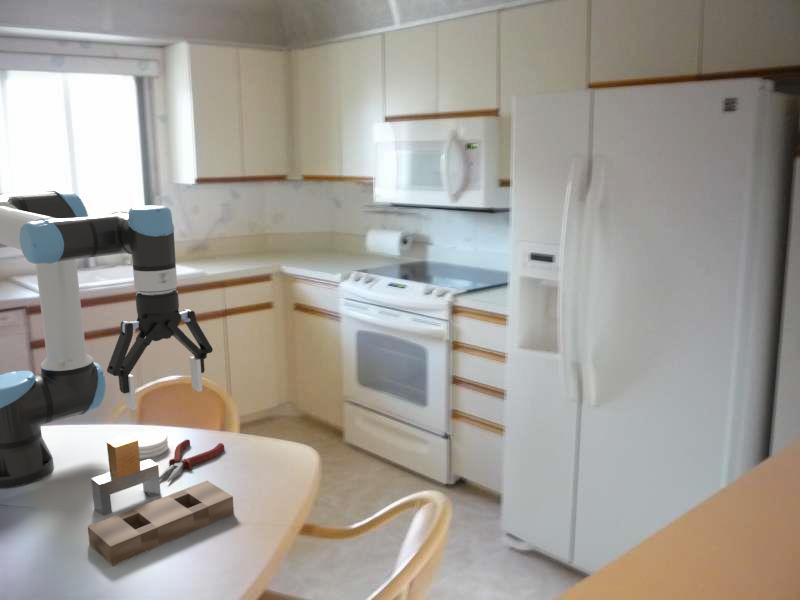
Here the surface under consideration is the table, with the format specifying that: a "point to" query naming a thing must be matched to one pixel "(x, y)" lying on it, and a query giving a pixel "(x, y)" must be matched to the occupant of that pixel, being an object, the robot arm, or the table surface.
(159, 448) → the white round stack
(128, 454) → the clip
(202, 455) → the pliers
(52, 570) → the table surface
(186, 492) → the slotted wooden block
